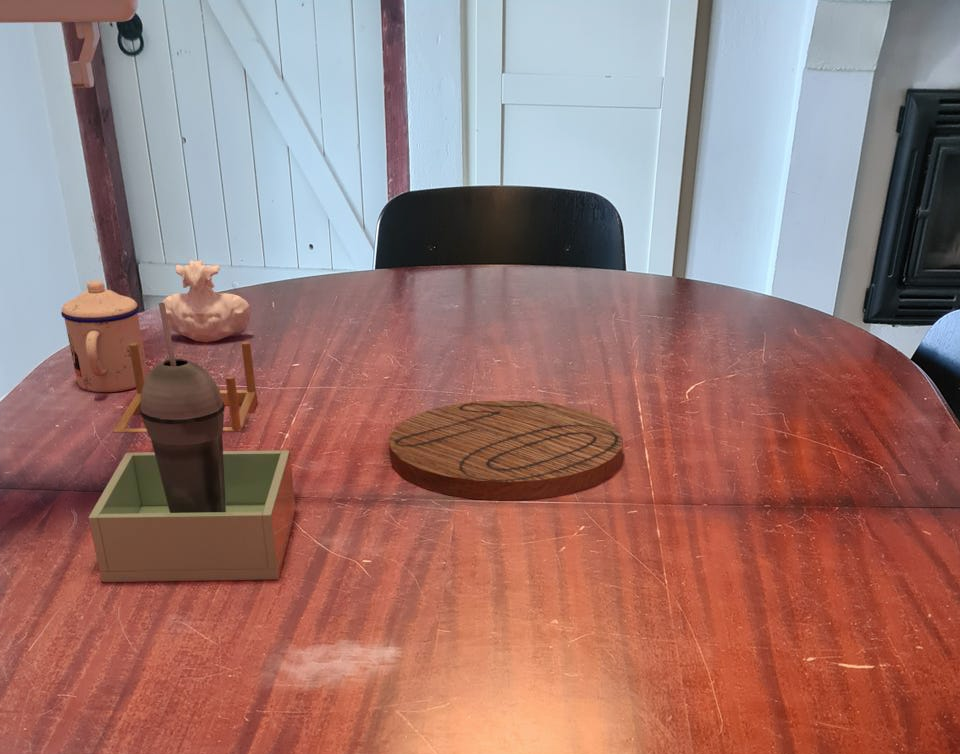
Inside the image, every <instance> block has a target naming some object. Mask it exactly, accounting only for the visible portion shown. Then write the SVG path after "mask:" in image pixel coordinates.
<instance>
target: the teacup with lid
mask: <svg viewBox="0 0 960 754" xmlns="http://www.w3.org/2000/svg"><path fill="white" fill-rule="evenodd" d="M105 286H106V285H105V283H104V282H103V281H102V280H90V281H88V282H87V283H86V288H87V290H85V291H83V292H81V293H79V295H78V296H77V297H75V298H74V299H71V300H68V301H67V302H65V303H64V304H63V305H62V307H61V312H60V313H61V317H62V318H63V319H64V323H65V329H66V334H67V338H68V344H69V348H70V353H71V358H72V364H73V368H74V373H75V378H76V382H77V385H78V386H79V387H81V389H83V390H86V391H88V392H96V393H116V392H117V393H118V392H123V391H129V390H133V389H136V383H135V377H134V372H133V366H132V360H131V354H130V349H129V344H130V343H137V344H138V349H139V355H140V361H141V367H142V373H143V378H144V382H145V379H146V378H147V376H148V374H149V373H148V367H147V361H146V360H147V359H146V355H145V349H144V343H143V337H142V331H141V325H140V319H139V313H138V312H139V311H140V307H139V305H138V303H137V302H136V301H135V299H133V298H131V297H129V296H126V295H120V294H119V293H117V292H115V291H113V290H111V289H106V287H105Z"/></svg>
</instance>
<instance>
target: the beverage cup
mask: <svg viewBox="0 0 960 754" xmlns="http://www.w3.org/2000/svg"><path fill="white" fill-rule="evenodd" d="M158 309H159V312H160V318H161V323H162V324H161V325H162V329H163V334H164V339H165V344H166V345H165V346H166V349H167V355H168V359H167V360H165V361H163V362H162V361H161V362H160V363H159V364H157V365H156V366H155V367H153V368H152V369H151V370H150V372H149V373H148V376H147V378H146V379H145V382H144V385H143V388H142V392H141V409H140V415H139V416H141V417H142V419H143V424H144V426H145V427H144V428H146V430H147V432H146V433H147V435H148V437H149V439H150V441H151V445H152V450H153V452H154V453H155V457H156V460H157V464H158V468H159V472H160V476H161V480H162V484H163V488H164V492H165V496H166V499H167V503H168V507H169V511H170V513H205V512H226V503H225V483H224V462H223V451H224V445H223V444H224V443H223V442H224V441H223V434H224V433H223V432H224V431H223V427H224V422H225V413H224V412H225V407H226V405H224V403H223V401H222V398H221V394H220V391H219V390H220V388H219V386H218V385H217V383H216V381H215V380H214V378H213V377H212V376H211V374H209V372H208V371H207V370H206V369H205V368H204V367H203V366H202V365H199V364H197V363H196V362H194V361H191V360H189V359H184V358H176V357H175V356H176V355H175V351H174V345H173V339H172V334H171V329H170V323H169V321H168V319H167V314H166V308H165V303H162V302H158Z"/></svg>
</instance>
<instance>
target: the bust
mask: <svg viewBox="0 0 960 754" xmlns="http://www.w3.org/2000/svg"><path fill="white" fill-rule="evenodd" d="M174 269H175V273H176V274H177V275H179V276H180V277H181V279H182V288H183V289H185V288H188V287H189V289H188V292H185V293H181V292H180V293H174V294H172V295H168V296H167V297H165V298H164V299H163V301H162V302H161V303H165V308H166V314H167V319H168V323H169V326H171V328H172V330H173V331H174V332H175V333H177V334H179V335H182V336H184V337H187V338H188V339H191V340H193V341H195V342H201V343H202V342H203V343H210V342H217V341H220V340H222V339H225V338H228V337H231V336H235V335H240V334H243V333H245V332H246V331H247V329H248V326H249V323H250V316H251V310H250V304H249V303H248V301H247V300H246V299H244V298H243V297H242V296H240V295H237V294H233V293H227V292H221V293H218V292H216V291H214V290H213V289H214V288H215V284H214V282H213V278H212V277H213V276H215V275H218V274H219V271H220V270H221V267H220V265H219V264H214V265H210V264H207V265H205V263H204V261H203V259H199V260H193V259H190V260H189V262H188V264H187V265H181V264H177V265H176V266H175V267H174Z"/></svg>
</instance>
